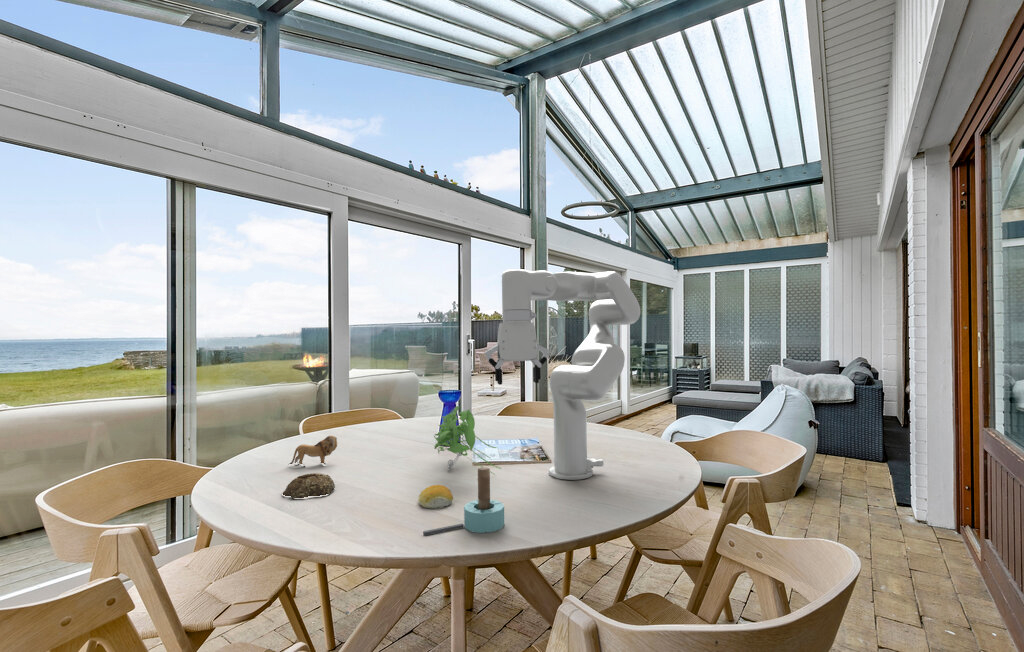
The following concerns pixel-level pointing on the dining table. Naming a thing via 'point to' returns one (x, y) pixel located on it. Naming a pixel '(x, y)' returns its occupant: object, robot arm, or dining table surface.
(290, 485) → the brown rock
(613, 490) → the dining table surface
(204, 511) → the dining table surface
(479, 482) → the round-ended wooden dowel
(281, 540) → the dining table surface
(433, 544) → the dining table surface
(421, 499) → the bread roll
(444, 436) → the plant cuttings
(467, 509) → the bead
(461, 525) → the thin grey bar
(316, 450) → the lion figurine
